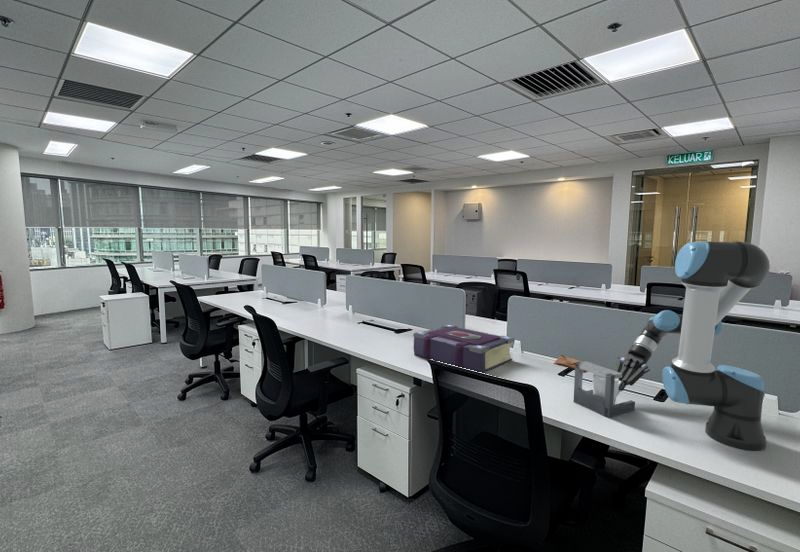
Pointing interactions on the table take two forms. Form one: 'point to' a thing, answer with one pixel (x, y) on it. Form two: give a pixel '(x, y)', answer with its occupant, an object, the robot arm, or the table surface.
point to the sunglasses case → (567, 362)
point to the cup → (603, 386)
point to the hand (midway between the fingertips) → (612, 395)
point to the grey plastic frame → (596, 402)
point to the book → (463, 347)
